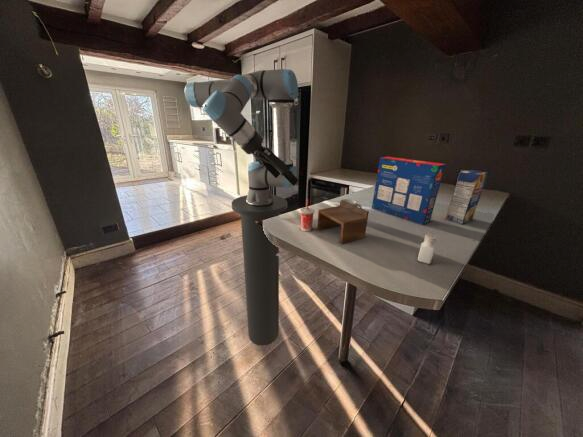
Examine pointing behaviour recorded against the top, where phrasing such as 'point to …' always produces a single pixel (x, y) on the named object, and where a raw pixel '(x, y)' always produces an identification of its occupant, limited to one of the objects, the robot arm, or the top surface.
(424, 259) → the pepper shaker
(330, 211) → the shelf
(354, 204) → the cup
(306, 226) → the beverage cup
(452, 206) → the juice carton
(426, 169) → the blue flat box
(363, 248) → the top surface
